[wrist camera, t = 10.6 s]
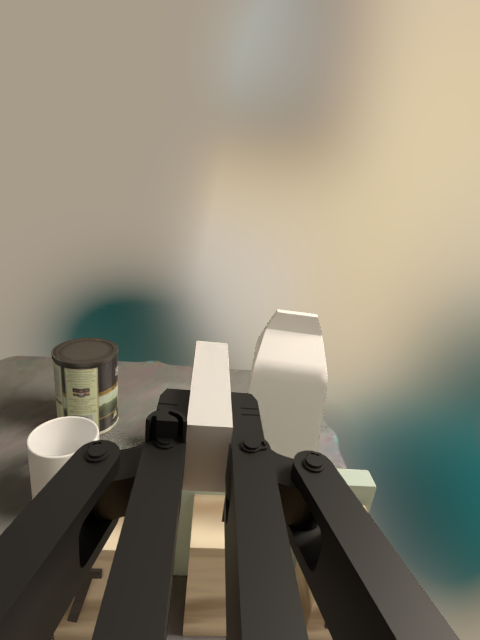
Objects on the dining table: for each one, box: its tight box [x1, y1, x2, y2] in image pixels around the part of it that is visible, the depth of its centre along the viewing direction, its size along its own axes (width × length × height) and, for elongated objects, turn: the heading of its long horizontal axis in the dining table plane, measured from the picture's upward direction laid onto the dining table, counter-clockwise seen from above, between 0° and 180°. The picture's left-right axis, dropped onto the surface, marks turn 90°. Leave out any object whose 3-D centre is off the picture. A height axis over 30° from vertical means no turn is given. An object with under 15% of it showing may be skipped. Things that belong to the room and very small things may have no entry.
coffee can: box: [52, 338, 119, 435], centre depth 64 cm, size 10×10×14 cm
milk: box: [248, 309, 328, 459], centre depth 58 cm, size 12×12×26 cm
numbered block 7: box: [54, 517, 124, 640], centre depth 36 cm, size 6×6×12 cm
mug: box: [27, 416, 99, 500], centre depth 50 cm, size 12×8×10 cm
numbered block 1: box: [295, 505, 368, 640], centre depth 38 cm, size 6×6×12 cm
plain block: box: [183, 494, 226, 637], centre depth 37 cm, size 6×6×12 cm
